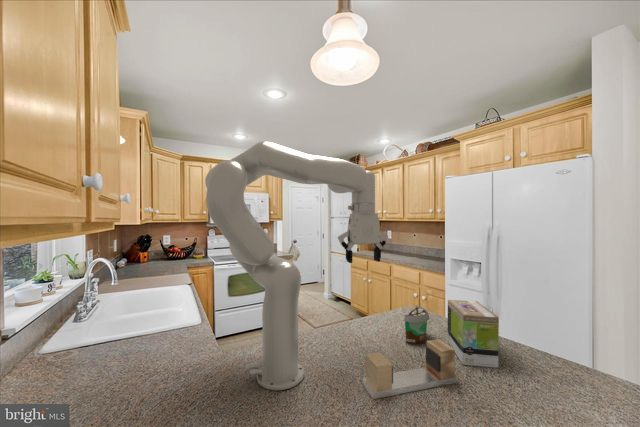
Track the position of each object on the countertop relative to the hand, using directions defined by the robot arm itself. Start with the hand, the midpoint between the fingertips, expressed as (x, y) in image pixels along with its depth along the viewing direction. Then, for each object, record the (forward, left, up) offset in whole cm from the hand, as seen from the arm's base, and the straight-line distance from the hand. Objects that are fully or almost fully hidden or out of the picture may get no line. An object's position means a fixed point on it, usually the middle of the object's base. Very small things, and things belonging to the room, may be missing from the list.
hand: (363, 261), depth 89 cm
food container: (+21, 0, -28) cm, 35 cm away
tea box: (+31, -12, -29) cm, 44 cm away
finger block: (+13, -20, -27) cm, 36 cm away
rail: (+4, -20, -28) cm, 35 cm away
